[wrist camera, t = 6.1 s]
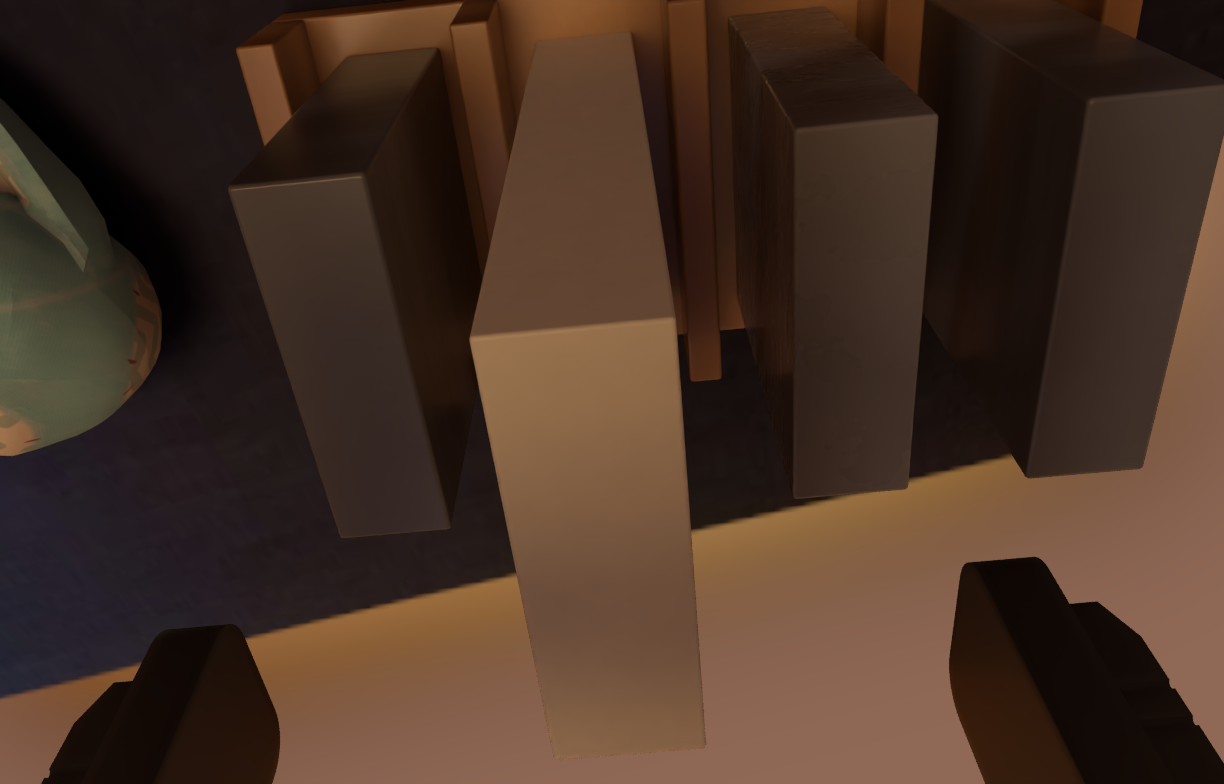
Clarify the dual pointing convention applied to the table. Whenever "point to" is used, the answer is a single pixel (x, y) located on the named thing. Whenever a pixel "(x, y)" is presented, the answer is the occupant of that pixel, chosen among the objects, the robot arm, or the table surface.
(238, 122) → the table surface
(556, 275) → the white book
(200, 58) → the table surface
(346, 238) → the brown wooden rack
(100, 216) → the stuffed animal
